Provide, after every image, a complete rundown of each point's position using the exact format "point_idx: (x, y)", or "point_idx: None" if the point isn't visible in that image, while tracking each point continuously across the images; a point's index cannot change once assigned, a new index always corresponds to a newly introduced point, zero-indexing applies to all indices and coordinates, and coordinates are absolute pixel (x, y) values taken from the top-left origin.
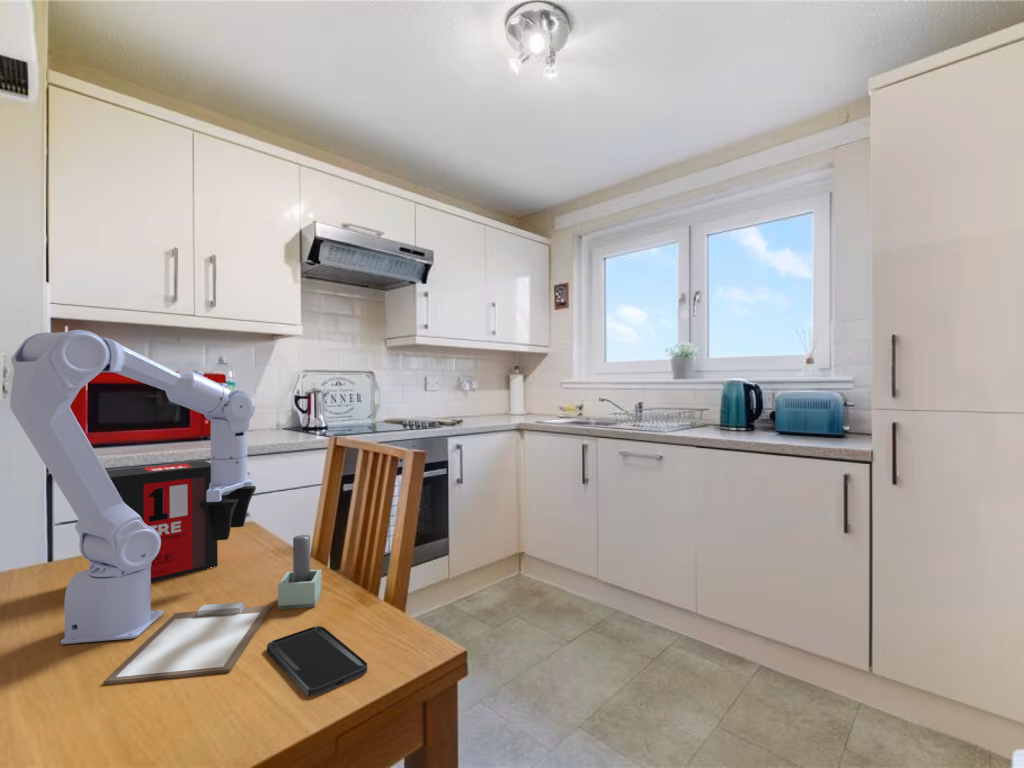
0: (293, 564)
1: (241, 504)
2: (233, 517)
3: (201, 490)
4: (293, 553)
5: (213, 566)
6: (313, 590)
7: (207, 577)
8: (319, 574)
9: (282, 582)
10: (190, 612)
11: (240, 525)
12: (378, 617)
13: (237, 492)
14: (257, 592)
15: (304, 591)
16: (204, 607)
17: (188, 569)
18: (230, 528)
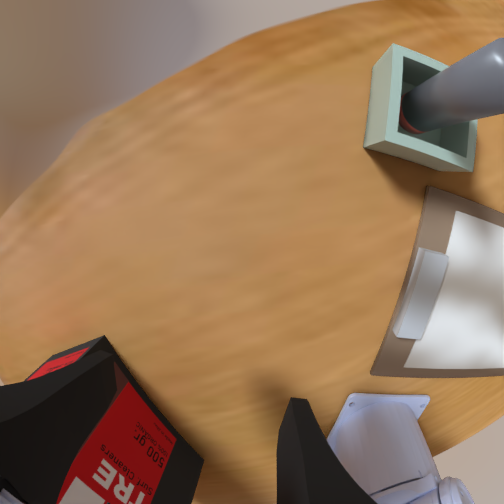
0: (470, 120)
1: (52, 421)
2: (94, 407)
3: None
4: (493, 115)
5: (107, 343)
6: None
7: (164, 351)
8: (421, 55)
9: (461, 158)
10: (384, 351)
11: (110, 364)
12: (491, 20)
13: (24, 477)
14: (313, 225)
15: None
16: (412, 330)
17: (132, 387)
18: (295, 424)
